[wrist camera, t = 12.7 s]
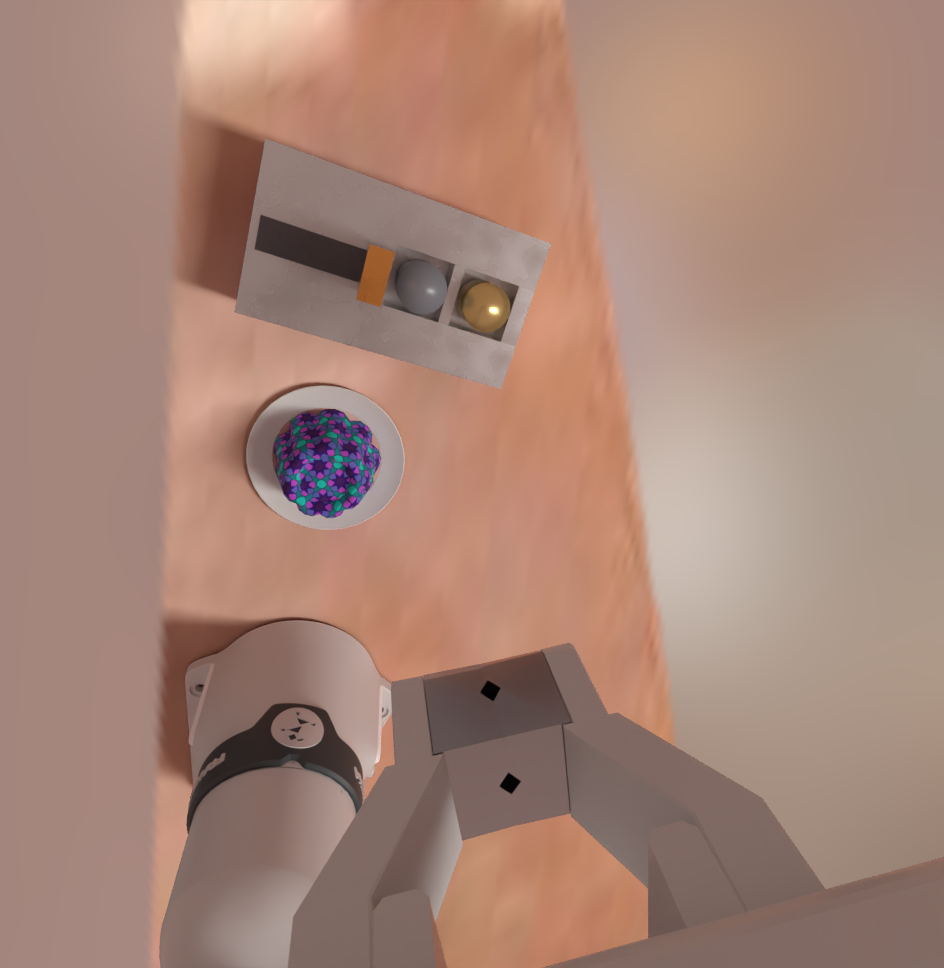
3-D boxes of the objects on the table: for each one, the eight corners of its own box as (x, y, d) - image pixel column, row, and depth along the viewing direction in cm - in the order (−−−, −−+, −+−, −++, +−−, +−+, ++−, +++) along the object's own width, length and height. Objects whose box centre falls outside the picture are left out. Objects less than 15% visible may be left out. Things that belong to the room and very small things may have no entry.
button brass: (491, 329, 42) (501, 337, 39) (451, 316, 41) (458, 324, 38) (504, 287, 41) (516, 292, 38) (464, 273, 40) (472, 277, 37)
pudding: (341, 551, 50) (339, 585, 45) (215, 468, 45) (198, 496, 41) (434, 447, 48) (442, 472, 43) (311, 349, 43) (305, 365, 38)
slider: (378, 297, 38) (380, 307, 33) (357, 290, 37) (356, 299, 33) (391, 249, 37) (395, 252, 32) (369, 242, 36) (369, 244, 32)
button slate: (432, 313, 40) (438, 320, 36) (389, 299, 39) (391, 305, 36) (446, 268, 39) (453, 271, 35) (401, 252, 38) (405, 255, 35)
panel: (488, 374, 46) (501, 389, 42) (247, 303, 41) (234, 312, 37) (532, 242, 42) (551, 243, 38) (276, 147, 38) (265, 137, 33)
